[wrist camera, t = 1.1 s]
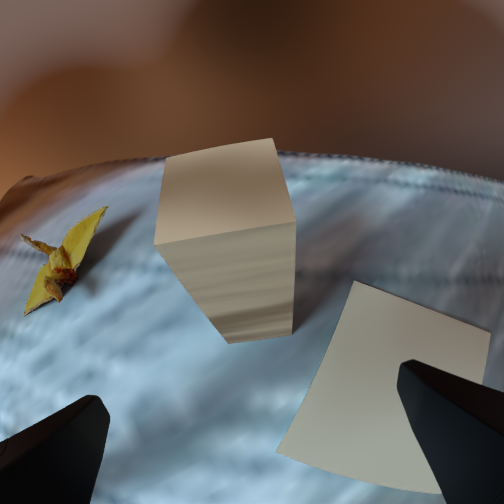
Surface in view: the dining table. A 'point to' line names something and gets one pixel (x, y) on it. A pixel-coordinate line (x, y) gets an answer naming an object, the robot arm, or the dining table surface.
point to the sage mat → (378, 389)
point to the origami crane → (62, 260)
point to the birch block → (231, 237)
